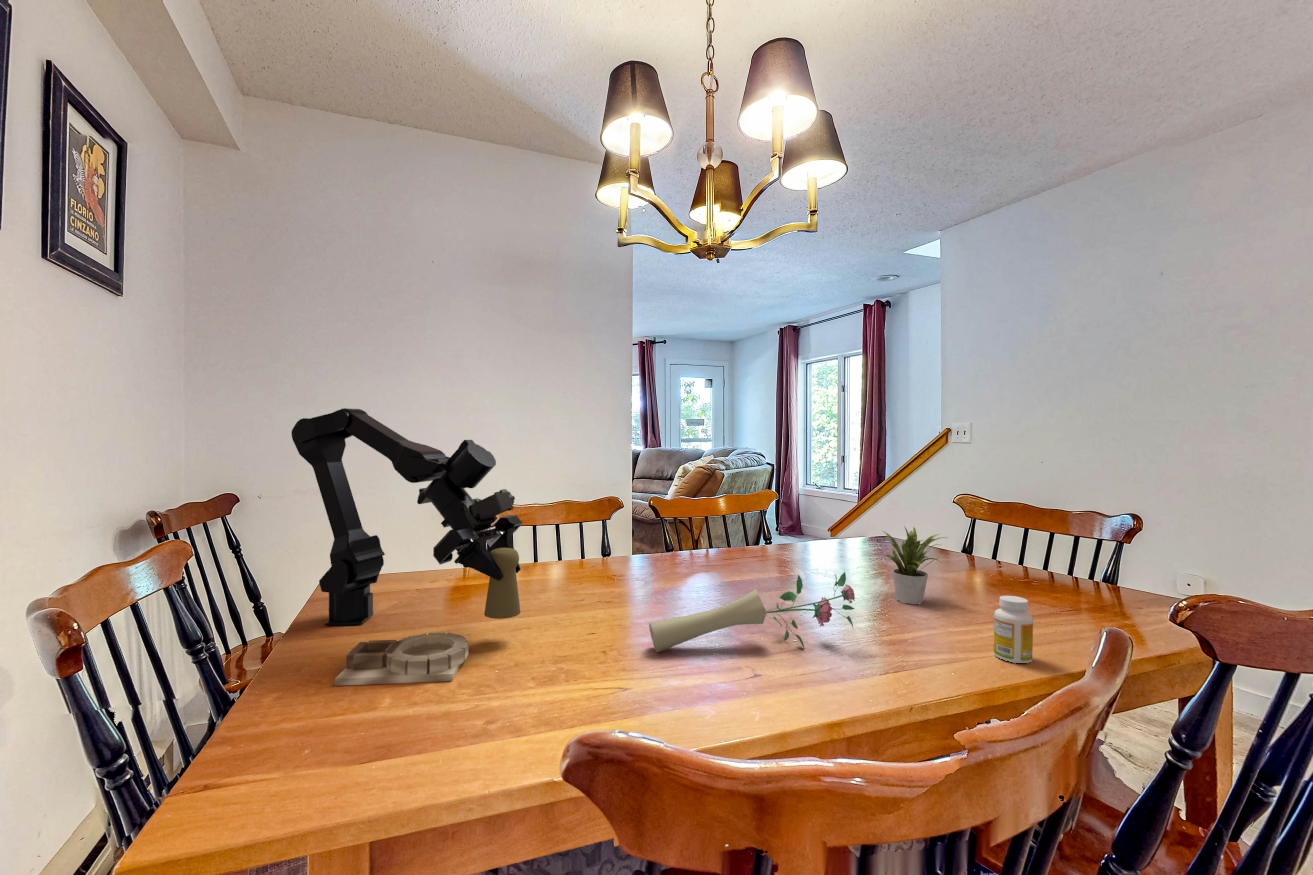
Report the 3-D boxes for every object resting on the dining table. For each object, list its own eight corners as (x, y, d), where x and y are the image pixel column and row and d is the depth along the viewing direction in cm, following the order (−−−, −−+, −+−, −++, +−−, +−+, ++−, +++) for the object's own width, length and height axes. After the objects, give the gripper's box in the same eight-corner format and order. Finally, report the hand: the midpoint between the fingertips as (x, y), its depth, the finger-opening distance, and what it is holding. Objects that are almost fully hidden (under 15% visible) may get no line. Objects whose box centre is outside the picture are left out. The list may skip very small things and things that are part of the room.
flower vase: (661, 686, 100) (844, 630, 106) (672, 697, 88) (877, 632, 95) (644, 617, 102) (823, 566, 109) (652, 618, 91) (852, 560, 97)
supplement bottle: (1027, 654, 96) (1028, 595, 96) (1036, 666, 91) (1037, 605, 91) (990, 649, 98) (991, 592, 98) (997, 661, 93) (998, 601, 93)
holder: (334, 685, 82) (334, 664, 82) (366, 652, 94) (366, 634, 94) (458, 680, 84) (458, 659, 84) (474, 649, 96) (474, 631, 96)
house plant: (964, 613, 117) (965, 533, 117) (895, 612, 117) (896, 532, 117) (931, 593, 132) (933, 521, 131) (870, 592, 132) (871, 521, 132)
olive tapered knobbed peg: (511, 620, 96) (512, 553, 95) (477, 616, 97) (478, 551, 97) (526, 609, 102) (527, 546, 101) (494, 606, 103) (495, 544, 103)
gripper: (449, 479, 91) (510, 555, 88) (514, 471, 109) (566, 534, 106) (407, 525, 94) (464, 601, 90) (477, 510, 111) (527, 573, 108)
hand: (510, 575), depth 99 cm, fingers closed on olive tapered knobbed peg, 5 cm apart
